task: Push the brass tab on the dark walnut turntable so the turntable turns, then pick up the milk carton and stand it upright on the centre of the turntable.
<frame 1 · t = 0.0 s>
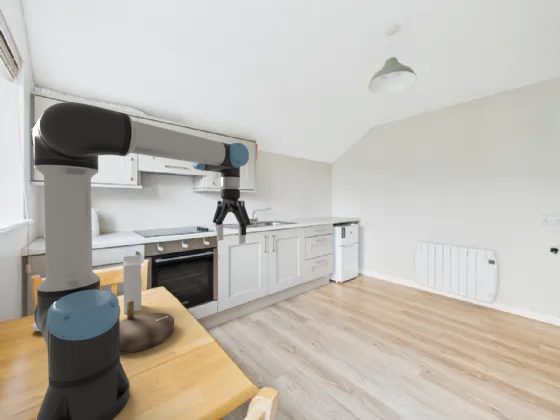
hand: (230, 242, 97), 28 cm above the table, tool pointing down, fingers open, 13 cm apart
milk: (132, 309, 99), on the table
flower in vase: (58, 325, 86), on the table
turntable: (141, 321, 80), point 5 cm above the table, hinge at 0.0°
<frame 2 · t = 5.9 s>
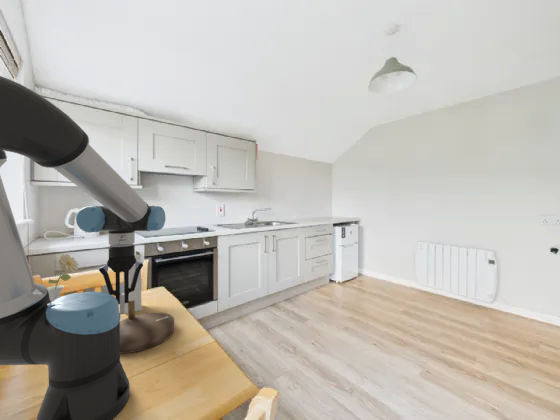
hand: (122, 312, 84), 5 cm above the table, tool pointing down, fingers closed
turntable: (141, 321, 80), point 5 cm above the table, hinge at -1.9°, touching gripper
everything else where it was.
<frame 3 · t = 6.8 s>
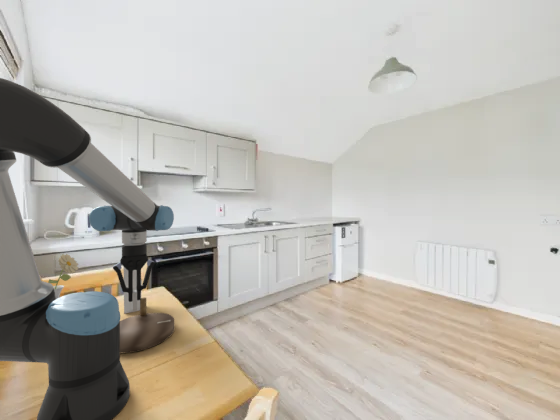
hand: (134, 309, 86), 6 cm above the table, tool pointing down, fingers closed
turntable: (141, 321, 80), point 5 cm above the table, hinge at -25.4°, touching gripper
everything else where it was.
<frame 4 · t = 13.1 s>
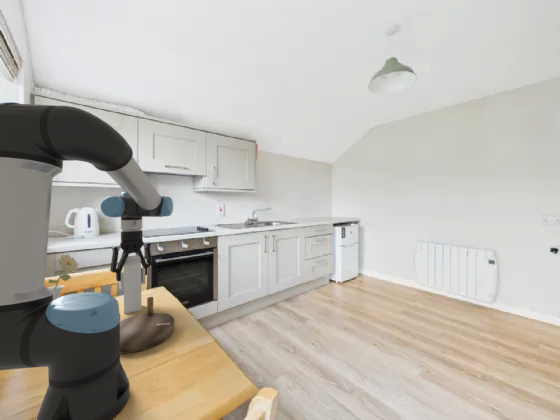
hand: (132, 285, 99), 10 cm above the table, tool pointing down, fingers closed on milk, 7 cm apart
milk: (132, 309, 99), on the table, touching gripper
turntable: (141, 321, 80), point 5 cm above the table, hinge at -39.8°
everything else where it was.
when the fingers open (15 cm above the table, at t = 18.9 s): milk drops 2 cm, resting on turntable.
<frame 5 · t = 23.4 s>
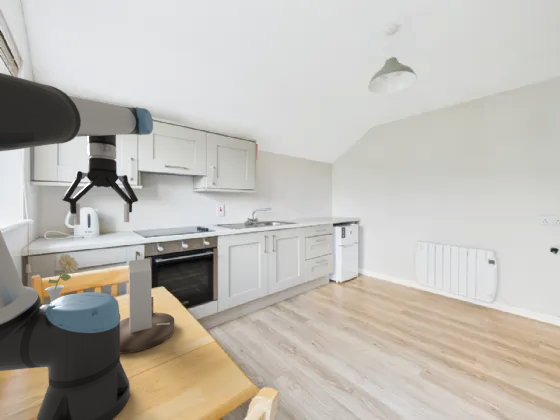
hand: (103, 223, 80), 37 cm above the table, tool pointing down, fingers open, 13 cm apart
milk: (140, 327, 79), point 3 cm above the table, touching turntable
turntable: (141, 321, 80), point 5 cm above the table, hinge at -39.8°, touching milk
everything else where it was.
at the end: turntable at -40° (first picture: +0°); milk 0.3 cm from the turntable (horizontally); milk tilted 0° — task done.
